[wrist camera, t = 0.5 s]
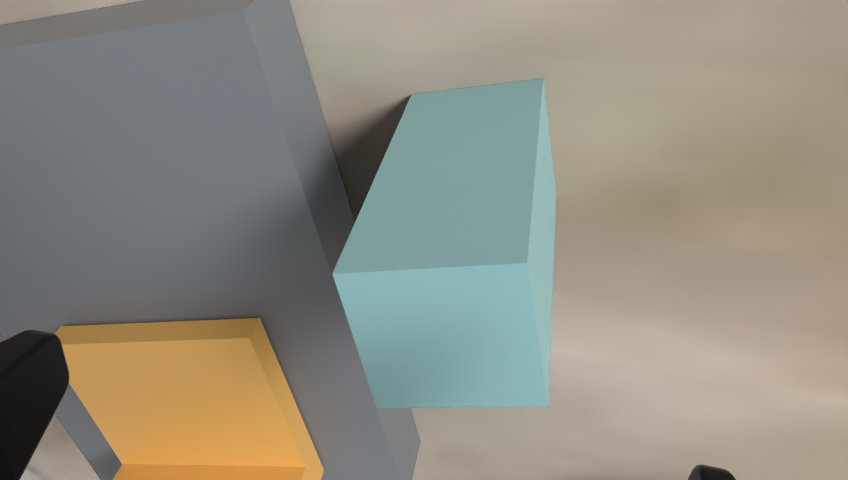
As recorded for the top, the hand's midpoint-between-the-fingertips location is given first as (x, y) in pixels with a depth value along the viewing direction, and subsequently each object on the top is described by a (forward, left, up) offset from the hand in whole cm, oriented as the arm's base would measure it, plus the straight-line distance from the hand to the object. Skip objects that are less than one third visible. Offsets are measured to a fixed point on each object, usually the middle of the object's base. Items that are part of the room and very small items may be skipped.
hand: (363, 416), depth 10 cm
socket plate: (-7, +12, -14) cm, 19 cm away
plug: (-3, 0, -14) cm, 14 cm away
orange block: (-11, +12, -11) cm, 19 cm away
